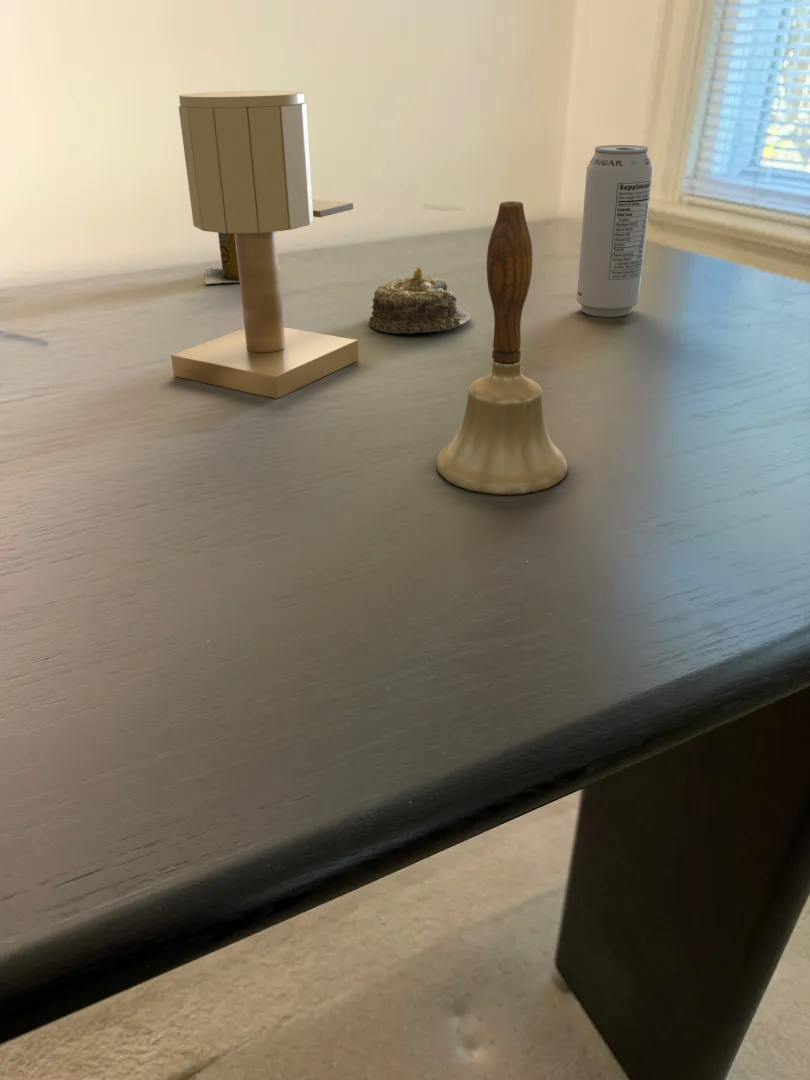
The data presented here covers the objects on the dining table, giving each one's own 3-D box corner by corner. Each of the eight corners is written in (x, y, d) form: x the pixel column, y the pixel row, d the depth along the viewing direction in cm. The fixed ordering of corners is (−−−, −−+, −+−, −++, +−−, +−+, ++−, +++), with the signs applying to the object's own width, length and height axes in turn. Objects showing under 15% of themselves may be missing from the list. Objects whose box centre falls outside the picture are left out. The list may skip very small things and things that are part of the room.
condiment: (280, 280, 102) (270, 169, 97) (205, 285, 101) (191, 172, 95) (275, 267, 109) (265, 161, 103) (204, 271, 107) (191, 164, 101)
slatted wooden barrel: (170, 227, 68) (152, 96, 63) (281, 202, 78) (272, 87, 73) (260, 237, 64) (248, 97, 59) (366, 210, 73) (362, 88, 69)
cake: (379, 347, 81) (372, 288, 78) (361, 320, 90) (354, 266, 87) (483, 330, 82) (480, 271, 80) (456, 305, 91) (452, 251, 88)
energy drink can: (606, 299, 93) (621, 143, 85) (650, 311, 88) (669, 147, 81) (563, 308, 90) (574, 147, 82) (605, 321, 85) (621, 152, 78)
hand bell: (582, 492, 53) (607, 212, 45) (444, 498, 53) (446, 216, 45) (551, 438, 60) (568, 189, 53) (429, 444, 60) (429, 193, 52)
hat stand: (173, 376, 73) (133, 107, 64) (260, 342, 81) (236, 99, 72) (276, 399, 68) (250, 110, 58) (358, 360, 76) (347, 101, 66)
